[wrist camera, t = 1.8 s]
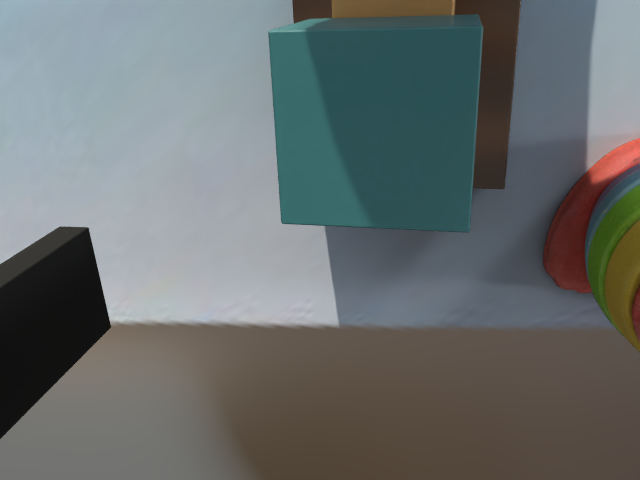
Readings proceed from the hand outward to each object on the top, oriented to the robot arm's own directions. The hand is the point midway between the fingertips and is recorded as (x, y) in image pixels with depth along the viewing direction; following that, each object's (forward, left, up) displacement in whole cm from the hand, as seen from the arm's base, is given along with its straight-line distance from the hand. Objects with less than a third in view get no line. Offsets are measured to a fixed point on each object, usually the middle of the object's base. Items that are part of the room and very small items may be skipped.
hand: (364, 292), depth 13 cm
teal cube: (-1, -1, -15) cm, 15 cm away
